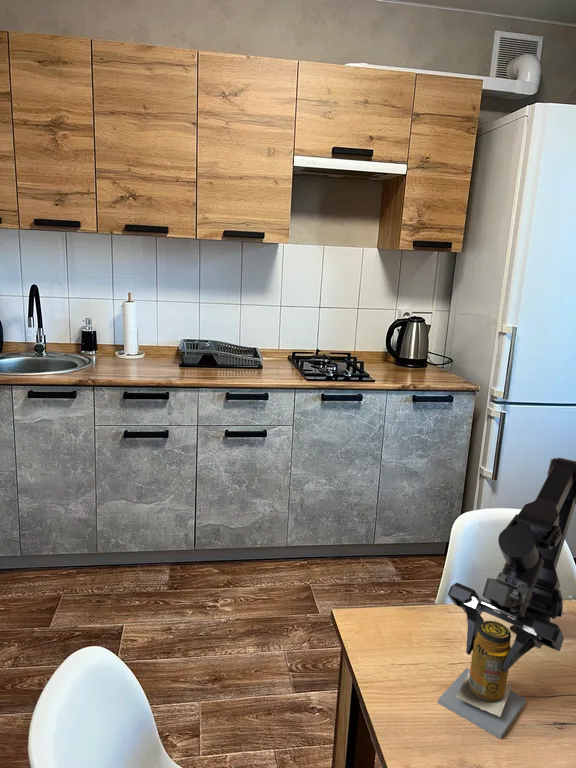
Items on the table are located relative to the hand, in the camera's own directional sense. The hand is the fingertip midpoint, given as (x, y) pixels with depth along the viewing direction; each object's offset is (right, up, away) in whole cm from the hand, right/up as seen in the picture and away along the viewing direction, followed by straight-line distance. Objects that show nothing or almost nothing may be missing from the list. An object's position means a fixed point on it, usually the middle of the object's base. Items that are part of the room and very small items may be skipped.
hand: (485, 662), depth 99 cm
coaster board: (0, -8, +3) cm, 9 cm away
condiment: (+1, -7, +3) cm, 7 cm away
